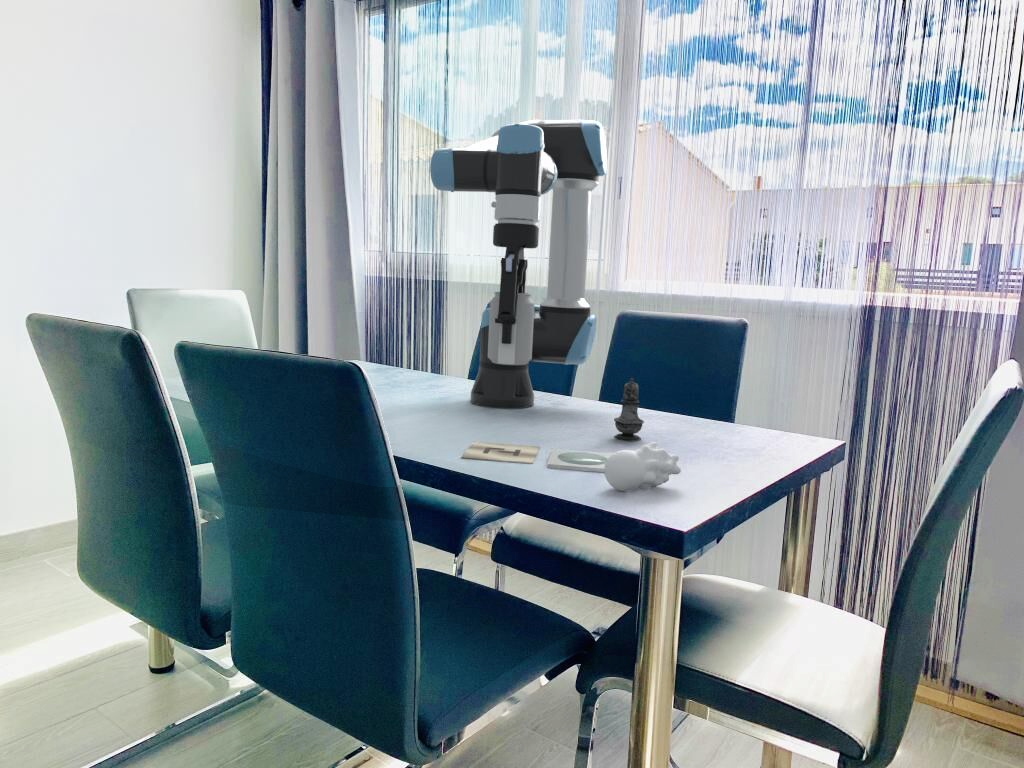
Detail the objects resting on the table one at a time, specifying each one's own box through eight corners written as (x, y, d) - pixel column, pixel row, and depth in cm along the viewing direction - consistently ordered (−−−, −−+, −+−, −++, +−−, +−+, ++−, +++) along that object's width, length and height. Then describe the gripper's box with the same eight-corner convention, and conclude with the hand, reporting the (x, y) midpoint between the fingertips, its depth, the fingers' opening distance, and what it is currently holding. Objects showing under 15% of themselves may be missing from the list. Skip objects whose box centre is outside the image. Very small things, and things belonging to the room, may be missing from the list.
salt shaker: (606, 437, 147) (610, 376, 145) (623, 433, 151) (628, 374, 149) (631, 443, 143) (636, 380, 141) (648, 439, 147) (653, 378, 145)
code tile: (473, 442, 136) (474, 441, 136) (539, 447, 135) (539, 446, 135) (461, 458, 125) (461, 456, 125) (532, 464, 123) (532, 462, 123)
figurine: (589, 466, 113) (652, 455, 119) (606, 505, 110) (670, 492, 116) (609, 443, 108) (674, 432, 114) (628, 483, 105) (693, 471, 111)
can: (526, 367, 123) (530, 293, 121) (482, 363, 124) (485, 290, 123) (535, 362, 130) (538, 292, 128) (493, 358, 132) (496, 290, 130)
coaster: (552, 451, 132) (552, 448, 132) (615, 457, 131) (615, 453, 131) (547, 467, 121) (547, 463, 121) (615, 473, 120) (615, 469, 120)
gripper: (503, 226, 134) (497, 353, 138) (483, 217, 114) (476, 366, 118) (545, 228, 133) (537, 355, 137) (532, 219, 113) (524, 369, 117)
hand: (509, 360), depth 127 cm, fingers closed on can, 7 cm apart
